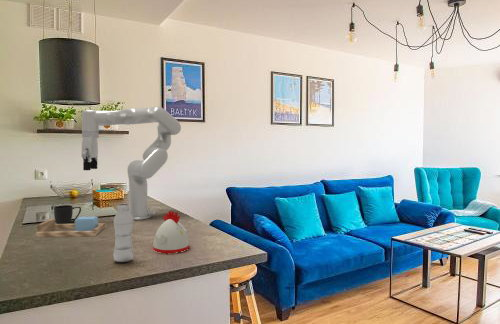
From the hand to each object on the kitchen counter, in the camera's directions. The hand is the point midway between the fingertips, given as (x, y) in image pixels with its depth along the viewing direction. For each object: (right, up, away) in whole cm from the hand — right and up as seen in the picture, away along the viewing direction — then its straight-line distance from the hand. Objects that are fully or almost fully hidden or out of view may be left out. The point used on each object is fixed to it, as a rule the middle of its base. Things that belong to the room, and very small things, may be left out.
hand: (90, 169), depth 178 cm
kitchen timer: (+48, -31, -37) cm, 68 cm away
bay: (0, -29, -17) cm, 33 cm away
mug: (-11, -28, 0) cm, 30 cm away
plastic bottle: (+35, -31, -52) cm, 70 cm away
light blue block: (+6, -28, -16) cm, 33 cm away
